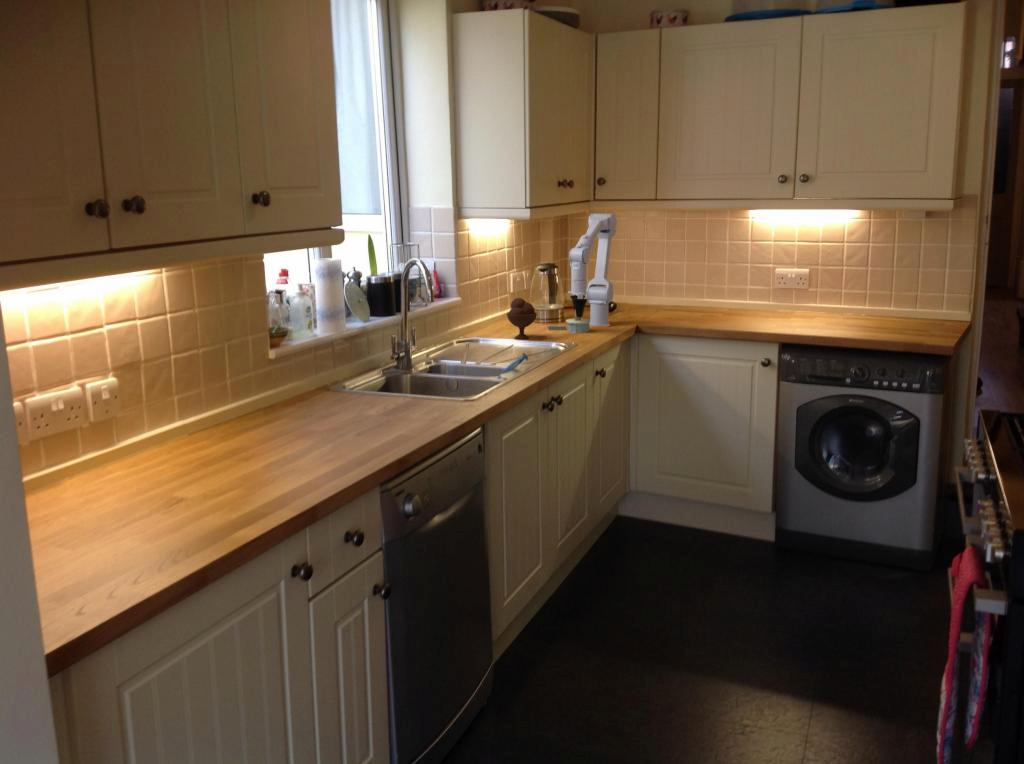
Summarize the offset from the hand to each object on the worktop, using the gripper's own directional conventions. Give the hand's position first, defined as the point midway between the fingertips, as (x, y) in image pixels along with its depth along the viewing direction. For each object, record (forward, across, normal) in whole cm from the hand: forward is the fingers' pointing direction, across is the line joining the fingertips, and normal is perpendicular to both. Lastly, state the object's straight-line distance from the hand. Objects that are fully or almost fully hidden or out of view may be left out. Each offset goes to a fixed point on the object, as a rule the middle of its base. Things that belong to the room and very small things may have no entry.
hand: (578, 315), depth 367 cm
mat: (+7, -8, -8) cm, 12 cm away
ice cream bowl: (+7, +12, -22) cm, 26 cm away
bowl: (+7, 0, 0) cm, 7 cm away
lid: (+3, 0, 0) cm, 3 cm away
